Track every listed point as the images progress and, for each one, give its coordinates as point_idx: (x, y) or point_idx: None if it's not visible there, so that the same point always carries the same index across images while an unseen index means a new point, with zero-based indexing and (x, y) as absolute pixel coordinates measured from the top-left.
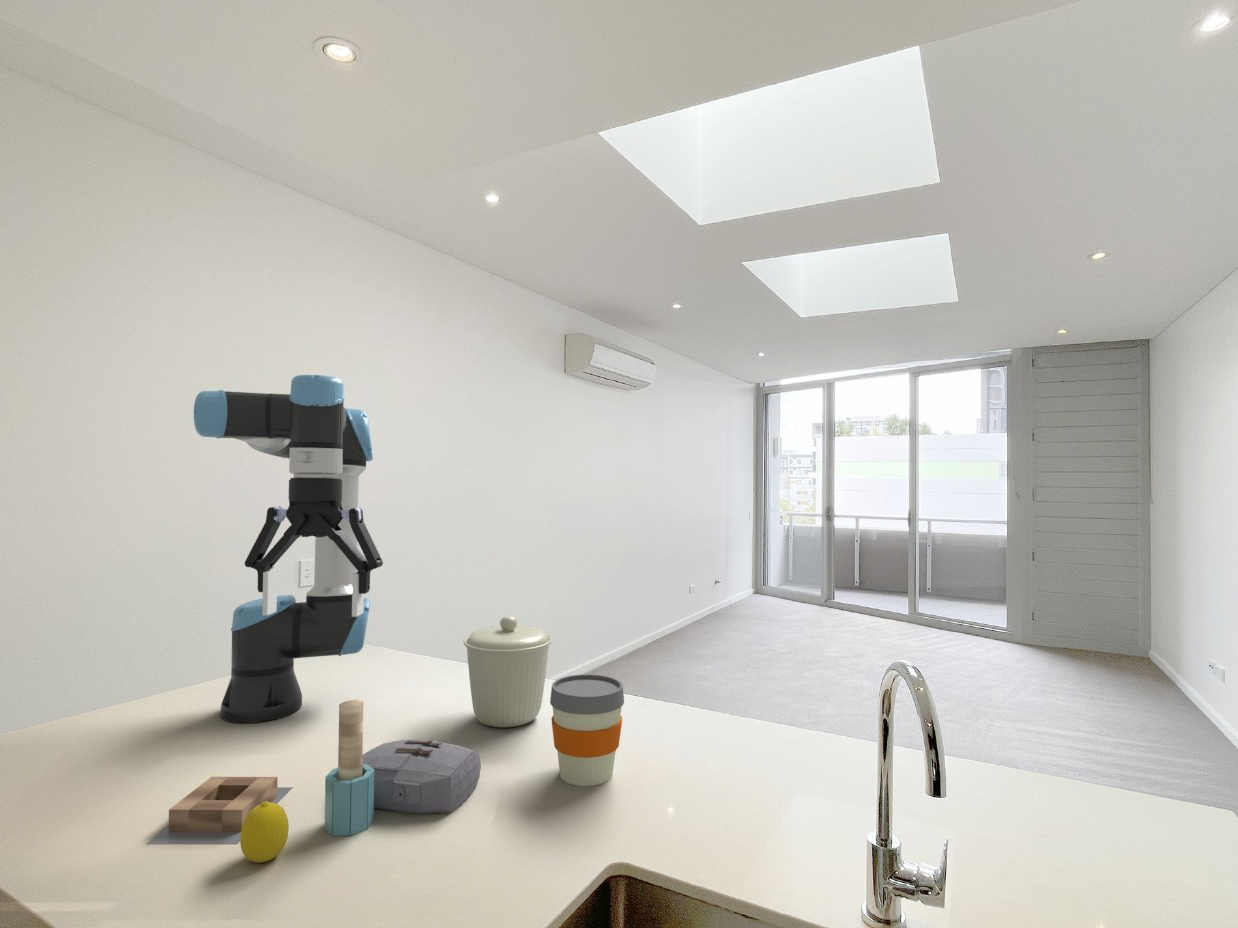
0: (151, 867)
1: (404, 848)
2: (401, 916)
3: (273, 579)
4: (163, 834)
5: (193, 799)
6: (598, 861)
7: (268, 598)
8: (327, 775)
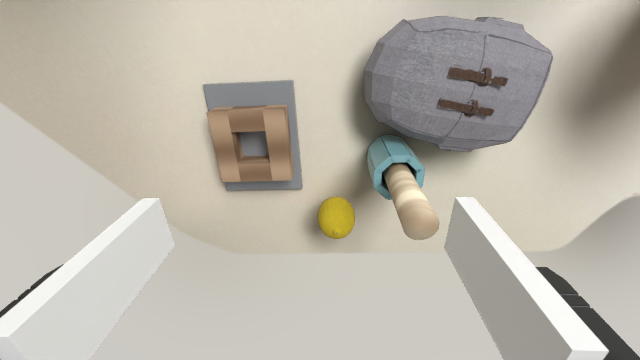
0: (253, 208)
1: (446, 180)
2: None
3: (72, 317)
4: None
5: (229, 163)
6: (619, 193)
7: (141, 281)
8: (374, 184)
